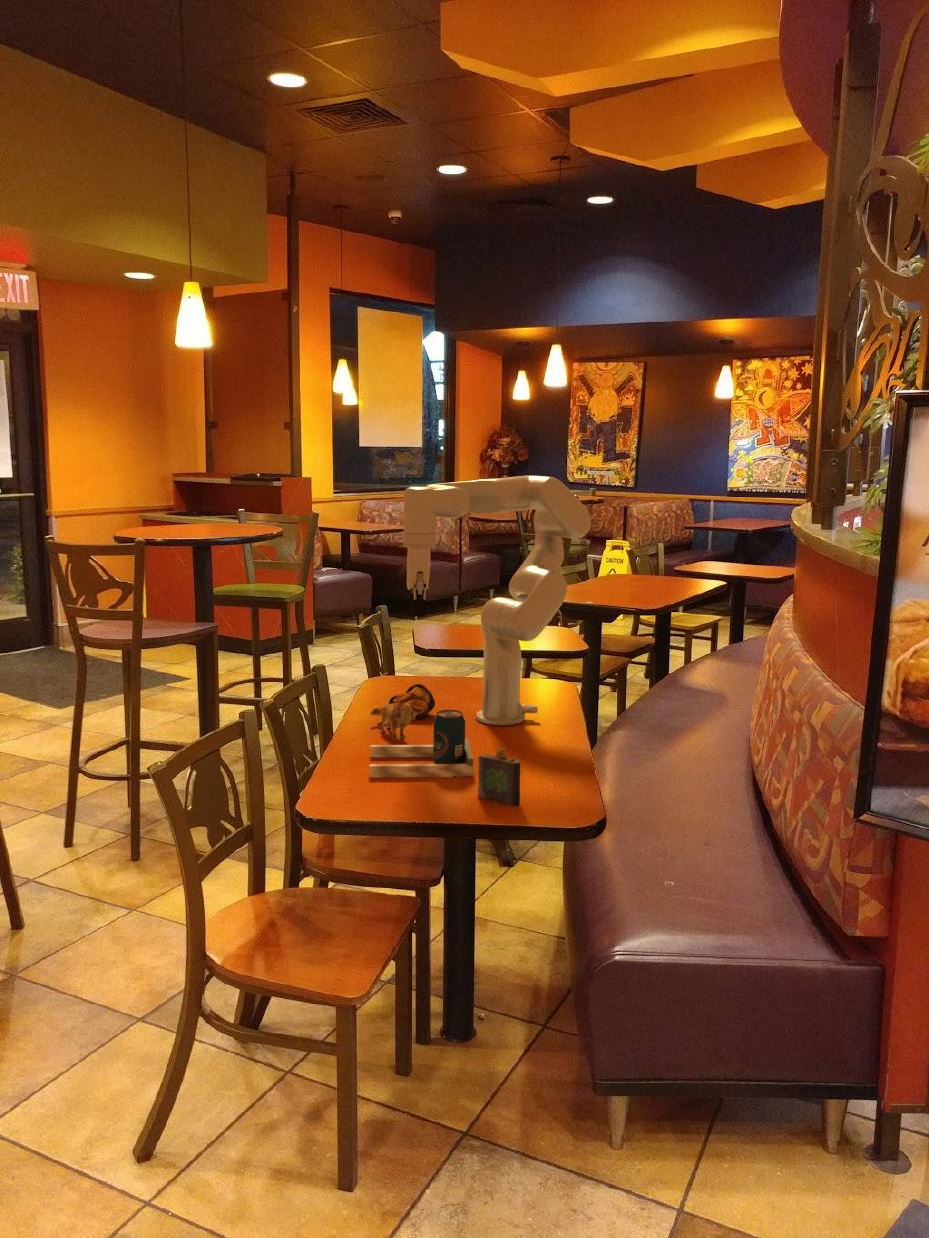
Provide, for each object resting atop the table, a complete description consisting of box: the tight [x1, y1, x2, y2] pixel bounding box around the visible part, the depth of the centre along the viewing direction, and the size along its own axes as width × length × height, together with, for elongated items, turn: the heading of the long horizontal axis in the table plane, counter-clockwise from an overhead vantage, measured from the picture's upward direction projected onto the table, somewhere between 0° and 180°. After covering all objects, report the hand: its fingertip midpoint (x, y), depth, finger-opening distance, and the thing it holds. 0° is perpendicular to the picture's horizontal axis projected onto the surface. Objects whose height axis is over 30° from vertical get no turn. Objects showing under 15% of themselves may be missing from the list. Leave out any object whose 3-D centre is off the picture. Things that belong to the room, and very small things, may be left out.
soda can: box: [432, 709, 466, 764], centre depth 214 cm, size 7×7×12 cm
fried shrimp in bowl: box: [370, 683, 436, 720], centre depth 249 cm, size 9×11×18 cm
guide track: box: [368, 737, 474, 779], centre depth 214 cm, size 22×14×4 cm, turn 95°
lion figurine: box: [376, 703, 417, 741], centre depth 236 cm, size 15×5×9 cm, turn 38°
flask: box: [477, 748, 521, 807], centre depth 194 cm, size 9×3×11 cm, turn 59°
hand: (418, 612), depth 230 cm, fingers open, 9 cm apart
